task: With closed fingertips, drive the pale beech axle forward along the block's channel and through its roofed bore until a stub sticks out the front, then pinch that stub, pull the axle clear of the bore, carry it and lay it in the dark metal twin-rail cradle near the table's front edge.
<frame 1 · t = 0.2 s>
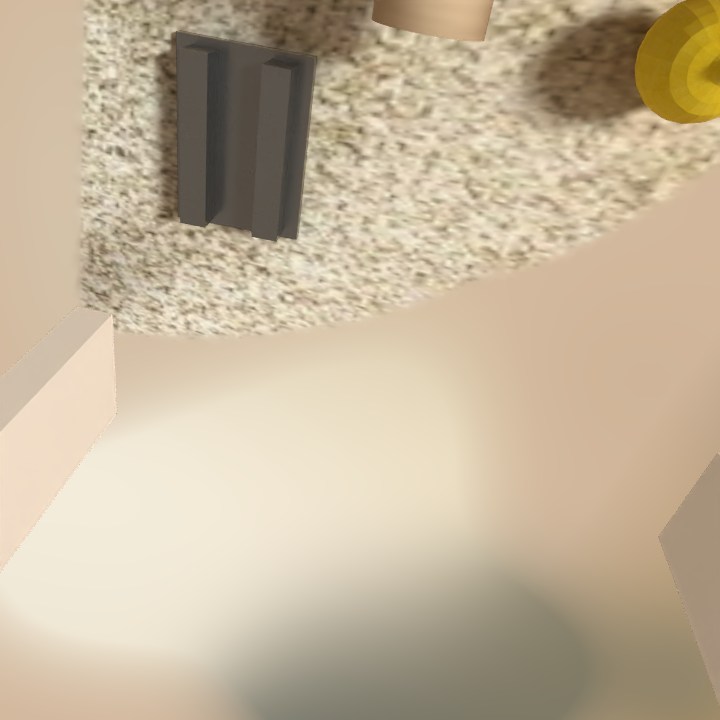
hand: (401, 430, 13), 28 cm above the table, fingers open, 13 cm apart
fruit: (672, 50, 33), on the table
cradle: (243, 141, 38), on the table
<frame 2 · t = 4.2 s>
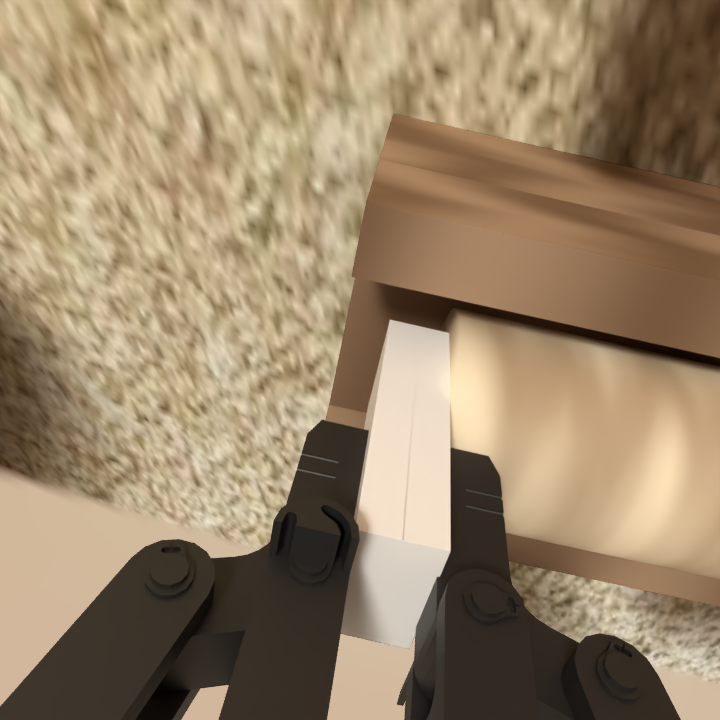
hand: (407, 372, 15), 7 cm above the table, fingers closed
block: (607, 304, 21), on the table
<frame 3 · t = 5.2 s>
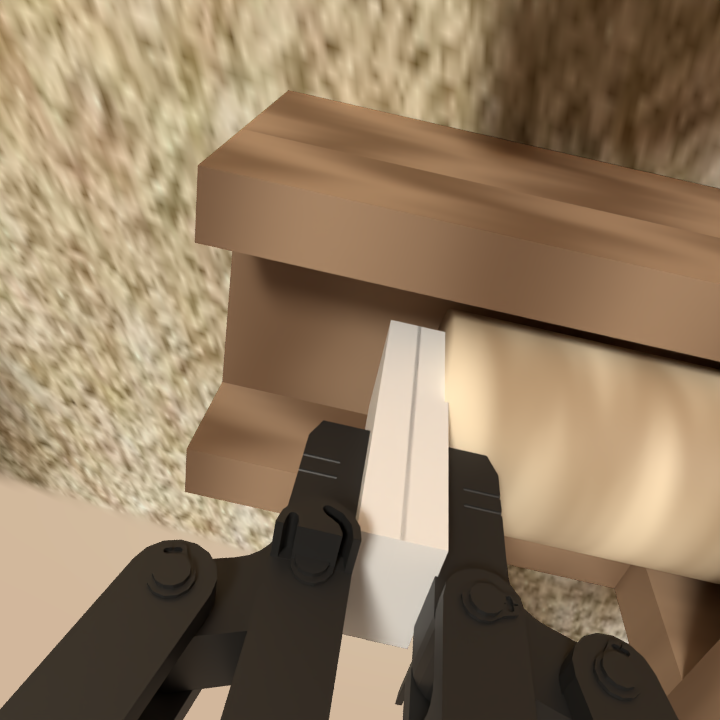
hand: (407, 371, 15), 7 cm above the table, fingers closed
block: (516, 285, 21), on the table
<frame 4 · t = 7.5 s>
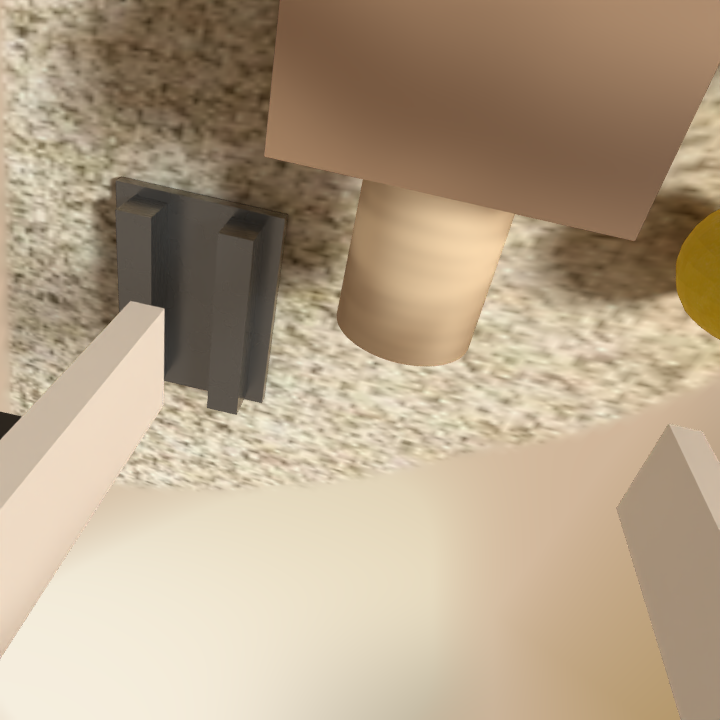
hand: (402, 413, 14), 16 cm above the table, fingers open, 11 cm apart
fruit: (718, 234, 27), on the table
axle: (473, 52, 20), point 5 cm above the table, touching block
cradle: (199, 297, 32), on the table
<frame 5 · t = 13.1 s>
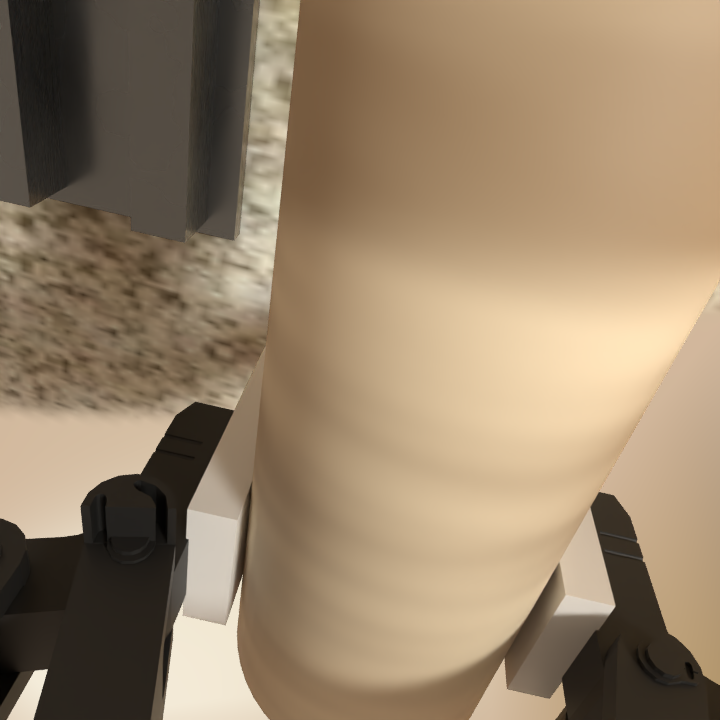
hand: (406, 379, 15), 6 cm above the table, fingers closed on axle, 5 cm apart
axle: (509, 150, 9), point 9 cm above the table, tilted 8°, touching gripper
cradle: (116, 19, 17), on the table
when the fingers open (3 cm above the table, at t = 16.9 s): axle drops 3 cm, resting on cradle.
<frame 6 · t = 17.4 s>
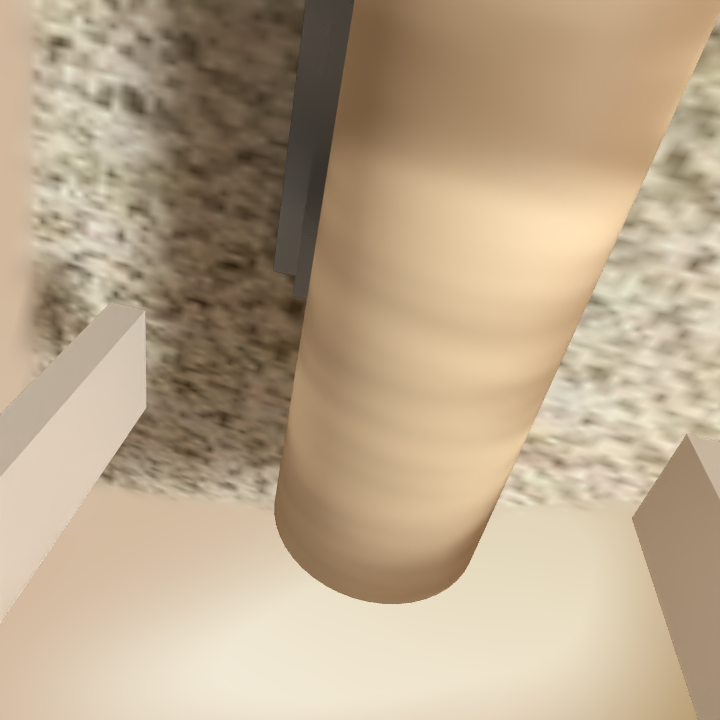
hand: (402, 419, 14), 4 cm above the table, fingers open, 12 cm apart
axle: (506, 121, 12), point 2 cm above the table, tilted 13°, touching cradle
cradle: (479, 80, 14), on the table
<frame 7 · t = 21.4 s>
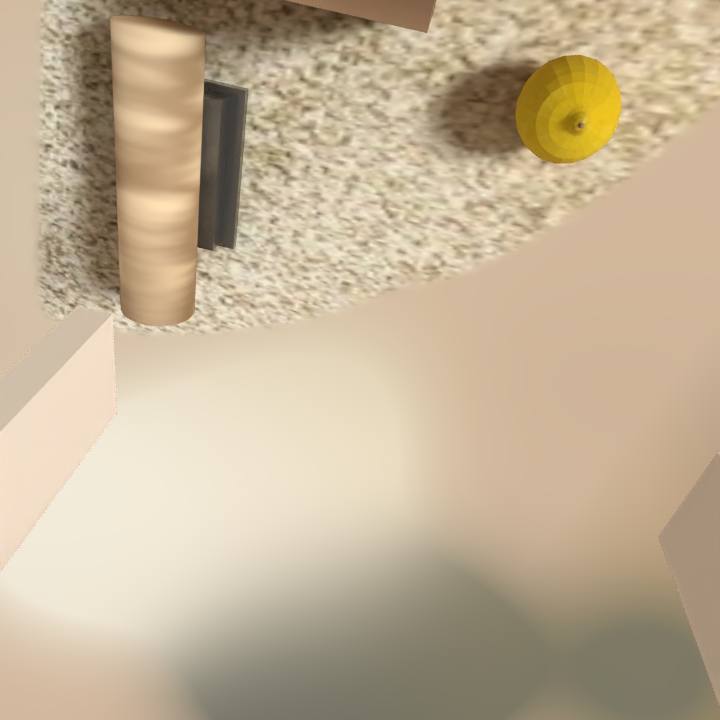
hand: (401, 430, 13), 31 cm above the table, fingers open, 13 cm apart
fruit: (556, 97, 38), on the table
axle: (181, 175, 41), point 2 cm above the table, tilted 13°, touching cradle
cradle: (185, 160, 42), on the table
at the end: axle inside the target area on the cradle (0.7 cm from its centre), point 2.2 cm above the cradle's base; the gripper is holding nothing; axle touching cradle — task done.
